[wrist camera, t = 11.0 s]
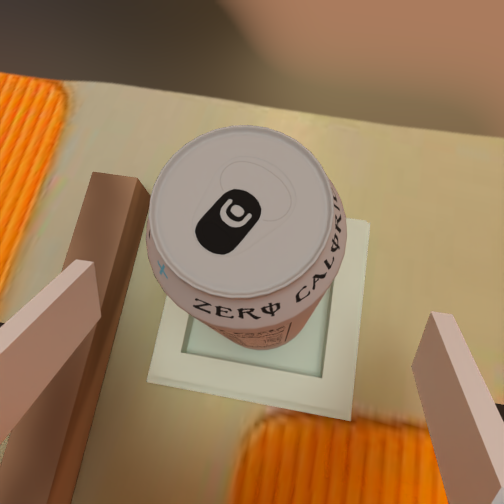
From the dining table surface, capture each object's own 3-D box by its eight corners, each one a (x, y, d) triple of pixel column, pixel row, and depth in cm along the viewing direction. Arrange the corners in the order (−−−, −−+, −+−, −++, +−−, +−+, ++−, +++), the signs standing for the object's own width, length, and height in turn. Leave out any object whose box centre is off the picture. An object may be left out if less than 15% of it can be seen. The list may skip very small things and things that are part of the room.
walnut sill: (-6, 587, 22) (-48, 619, 19) (111, 191, 29) (92, 171, 26) (44, 600, 22) (10, 634, 19) (151, 197, 28) (137, 177, 25)
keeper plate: (151, 381, 25) (138, 382, 22) (192, 203, 28) (185, 187, 26) (347, 419, 23) (355, 424, 21) (366, 228, 27) (375, 214, 24)
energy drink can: (330, 293, 25) (406, 186, 10) (269, 372, 24) (256, 377, 9) (254, 235, 26) (227, 69, 12) (193, 308, 25) (78, 224, 10)
